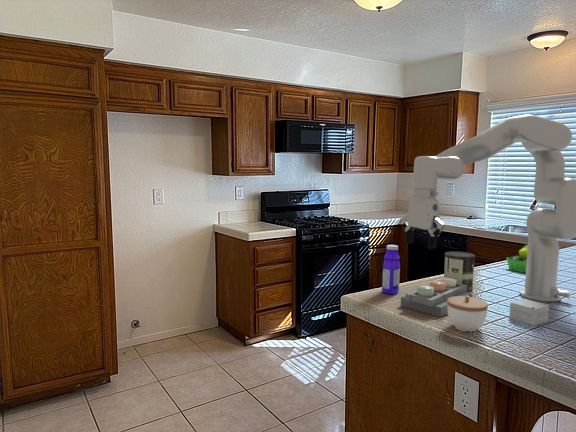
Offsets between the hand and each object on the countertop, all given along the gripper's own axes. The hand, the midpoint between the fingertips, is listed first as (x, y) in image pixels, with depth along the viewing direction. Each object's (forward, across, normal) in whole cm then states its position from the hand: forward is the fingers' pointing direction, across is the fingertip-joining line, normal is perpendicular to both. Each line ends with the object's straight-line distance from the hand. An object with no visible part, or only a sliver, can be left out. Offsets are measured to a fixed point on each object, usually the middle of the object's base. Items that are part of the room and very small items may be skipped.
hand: (420, 245), depth 140 cm
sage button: (+15, -5, +2) cm, 17 cm away
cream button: (+15, -2, -13) cm, 20 cm away
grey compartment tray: (+20, -4, -6) cm, 21 cm away
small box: (+19, -27, -18) cm, 38 cm away
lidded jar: (+20, -22, +4) cm, 30 cm away
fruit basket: (+18, +10, -78) cm, 81 cm away
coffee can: (+19, +3, -25) cm, 32 cm away
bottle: (+20, +14, -2) cm, 24 cm away
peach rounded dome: (+15, -4, -6) cm, 17 cm away
